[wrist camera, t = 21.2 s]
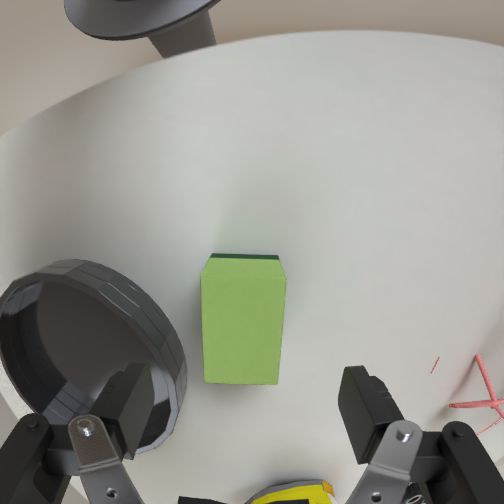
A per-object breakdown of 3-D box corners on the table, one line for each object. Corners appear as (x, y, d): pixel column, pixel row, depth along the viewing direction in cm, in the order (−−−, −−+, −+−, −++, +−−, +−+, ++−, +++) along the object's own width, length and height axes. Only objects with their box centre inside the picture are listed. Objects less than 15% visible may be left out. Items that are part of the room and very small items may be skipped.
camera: (371, 506, 26) (442, 483, 26) (366, 492, 28) (434, 472, 29) (361, 528, 27) (427, 507, 27) (356, 515, 29) (421, 496, 30)
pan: (5, 255, 21) (-23, 266, 17) (181, 263, 21) (166, 281, 17) (46, 407, 25) (29, 428, 21) (194, 437, 25) (188, 468, 21)
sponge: (211, 253, 21) (200, 274, 16) (278, 255, 21) (286, 277, 16) (212, 343, 22) (204, 382, 18) (272, 345, 23) (277, 384, 18)
